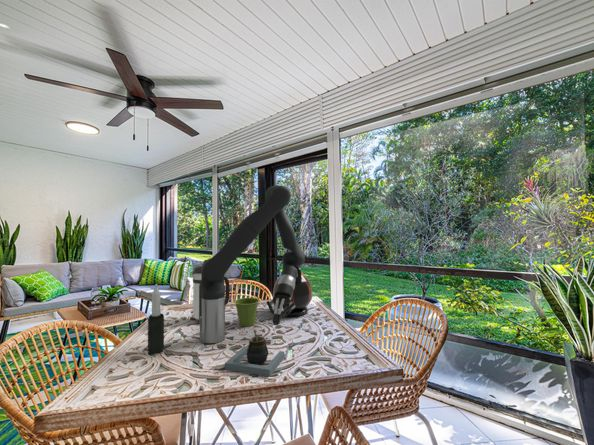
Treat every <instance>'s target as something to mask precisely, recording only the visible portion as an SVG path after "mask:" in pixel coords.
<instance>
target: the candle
mask: <svg viewBox="0 0 594 445" xmlns="http://www.w3.org/2000/svg"><path fill="white" fill-rule="evenodd" d="M164 349H165V315H164V313H162V312H161V291H160V290H159V288H158V284H157V283H156V284H154V289H153V291H152V293H151V314H149V316H148V319H147V356H151V355H158V354H159V355H160V354H161V353H163V352H164Z"/></svg>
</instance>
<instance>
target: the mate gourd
mask: <svg viewBox="0 0 594 445" xmlns="http://www.w3.org/2000/svg"><path fill="white" fill-rule="evenodd" d="M253 331H254V332H253V333H254V336H252V337H250V338H249V339H248V346H247V347H248V350H247V355H246V359H247V362H248V364H254V365H261V366H263V365H264V364H265V363H266V362H267V359H268V356H269V349H268V347H267V344H266V338H265V337H264V336H258V335H257V330H256V329H253Z"/></svg>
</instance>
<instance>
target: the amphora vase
mask: <svg viewBox="0 0 594 445" xmlns="http://www.w3.org/2000/svg"><path fill="white" fill-rule="evenodd" d="M280 264H281V265H283V260H281V261H280ZM294 267H295V268H296V269H297V277H296V281H295V288H294V291H293V295H292V299H291V300H292V303H294V305H295V309H293V310H292V311H291V312H290V313H289V314H288V315H287V316H286V317H300V316H304V315H306V314H308V312H309V309H308V306H309V305H310V303H311V301H312V300H313V288H312V285H311V282H310V280H309V278H308V277H307V276H306V275H305V274H304V272H303V271H302V269H301V268H302V265H298V266H294ZM280 277H281V274H280V275H279V276H278V278H277V279H276V280H275V283H274V287H273V289H272V299H273V298H274V296H275V292H276V288H277V285H278V282H279V279H280Z"/></svg>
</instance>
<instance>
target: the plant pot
mask: <svg viewBox="0 0 594 445" xmlns="http://www.w3.org/2000/svg"><path fill="white" fill-rule="evenodd" d="M259 302H260V299H259V298H256V297H243V298H238V299H235V300H234V304H235V307H236V311H237V318H238V324H239V326H240V327H243V328H244V327H252V326H255V324H256V318H257V311H258V305H259Z"/></svg>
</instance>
